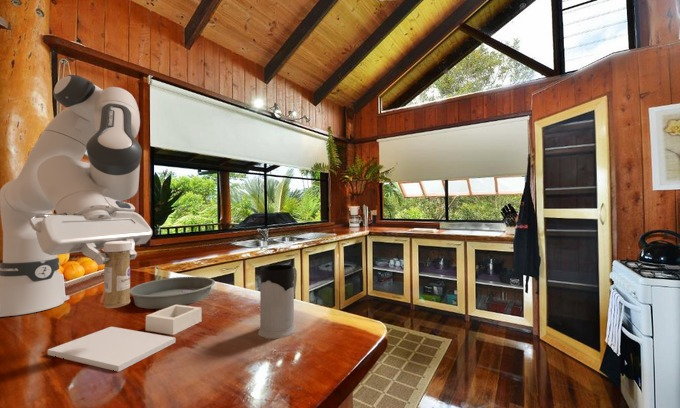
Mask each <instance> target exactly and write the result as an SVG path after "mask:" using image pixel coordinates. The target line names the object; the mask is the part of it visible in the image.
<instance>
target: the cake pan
mask: <svg viewBox="0 0 680 408" xmlns="http://www.w3.org/2000/svg"><path fill="white" fill-rule="evenodd" d="M215 284H216V281H215V280H214V279H213V278H209V277H206V276H179V277H178V276H177V277H170V278H169V277H168V278H161V279H155V280H151V281H147V282H142V283H139V284H136V285H135V286H133V287H130V296H132V298H133V301H134V305H135V306H136V307H138V308H140V309H141V308H143V309H152V310H153V309H154V310H155V309H165V308H168V307H171V306H173V305H176V304H177V305H184V306H188V305H190V304H194V303H197V302H200V301H202V300H204V299H206V298H208V297H209V295H210V293H211V289H212V287H213V286H214V285H215ZM184 290H189V291H185V292H184Z"/></svg>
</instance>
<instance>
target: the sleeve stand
mask: <svg viewBox="0 0 680 408" xmlns="http://www.w3.org/2000/svg"><path fill="white" fill-rule="evenodd" d="M202 308H203V307H200V306H199V307H198V306H190V305H177V304H176V305H173V306H171V307H168V308H161V309H159V310H157V311H155V312H152V313H150V314H149V313H148V314H147V315H145V331H147V332H152V333H153V332H155V333H159V334H166V335H172V336H174V335H176V334H178V333H180V332H182V331H184V330H187V329H188V328H190V327H192V326H195V325H196V324H199V323H201V322H202V321H203V317H202V314H203V313H202V312H203V311H202Z"/></svg>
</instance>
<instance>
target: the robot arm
mask: <svg viewBox="0 0 680 408" xmlns="http://www.w3.org/2000/svg"><path fill="white" fill-rule="evenodd" d="M52 92H53V93H52V94H53V98H54V100H56V101H57V103H59V104H60V105H61V106H63V107H64V108H63V109H62V110H61V111H60V112H59V113H57V114H56V115H55V116H54V118H53V119H51V121H50V122H49V123H48V124H47V126H46V127H45V129H44V130H43V131H42V133H41V134H40V136H39V138H38V139H37V140H36V141H35V144H34V145H33V146H32V148H31V150H30V151H29V153H28V156H27V158H26V160H25V163H24V164H23V167H22V169H21V170H20V173H19V174H18V176H17V177H16V178H15V179H11V180H9V181H7V182H6V183H5V184H4V185H2V187H1V188H0V220H1V227H2V237H3V239H2V262H1V263H0V318H2V317H4V318H5V317H10V316H12V317H13V316H22V315H27V314H33V313H36V312H37V313H38V312H41V311H45V310H49V309H50V310H51V309H53V308H57V307H59V306H61V305H63V304H64V303H65V302H66V301H68V300H70V295H68V294H67V295H66V288H65V278H64V274H62V273H60V272H59V269H60V257H58V255H64V254H74V253H80V252H81V253H82V255H83V256H85V257H87V258H90V259H92V260H94V262H95V263H96V264H97V266H103V265H105V264H107V263H108V261H109V260H110V258H109V256H108V254H107V253H105V252H101V250H104V243H106V242H112V241H130V242H131V250H129V251H130V261H131V260H135V259H136V258H137V256H138V252H137V251H136V250H135V246H137V245H146V244H147V243H148V242H149V241H150V239H151V237H152V236H153V229H152V228H151V226H150V225H149V224H148V222H147V221H146V220H145V218H144V217H143V216H142V215H141V214H139V213H138V212H136V211H135V210H136V207H135V206H134V204H132V203H130V202H125V201H128V200H130V199H132V198H133V197H135V196H136V195H137V193H138V192H139V184H140V183H139V182H140V170H141V161H142V156H143V155H142V154H143V149H142V146H141V145H140V143H139V142H138V140H137V139H136V138H137V136H138V133H139V132H140V126H141V118H140V117H141V116H140V110H139V106H138V103H137V101H136V98H134V96H133V94H132V93H130V92H129V91H128V90H126V89H124V88H122V87H119V86H109V87H105V88H104V89H103V88H101V87H99V86H98V85H96V84H94V83H93V82H92V81H91V80H89V79H87V78H85V77H83V76H80V75H77V74H68V75H66V76H64V77H62V78H60V79H59V80H57V82H56V84H55V86H54V88H53V91H52ZM86 153H87V158H88V162H87V161H82V159H83V157H84V156H85V154H86ZM53 211H55V212H56V213H53Z"/></svg>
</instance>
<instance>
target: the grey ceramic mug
mask: <svg viewBox="0 0 680 408" xmlns="http://www.w3.org/2000/svg"><path fill="white" fill-rule="evenodd" d="M260 271H261V272H260V273H261V274H260V276H261V277H260V278H261V279H260V282H261V283H260V286H259V287H260V288H259V289H260V290H259V291H260V299H259V300H260V305H259V306H260V308H259V309H260V311H259V312H260V313H259V314H260V315H259V317H260V324H259V325H260V326H259V329H258V335H259V336H260V337H261V338H264V339H272V340H273V339H274V340H275V339H282V338H286V337H289V336H291V335H293V334H294V333H295V332H296V330H297V329H296V326H295V320H294V319H295V316H294V315H295V314H294V313H295V312H294V311H295V308H294V307H295V304H294V303H295V302H294V301H295V299H294V298H295V294H296V293H295V292H296V287H297V280H298V277H297V276H298V273H297V268H296V267H295V266H293V265H288V264H271V265H266V266H263V267H261V268H260Z"/></svg>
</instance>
